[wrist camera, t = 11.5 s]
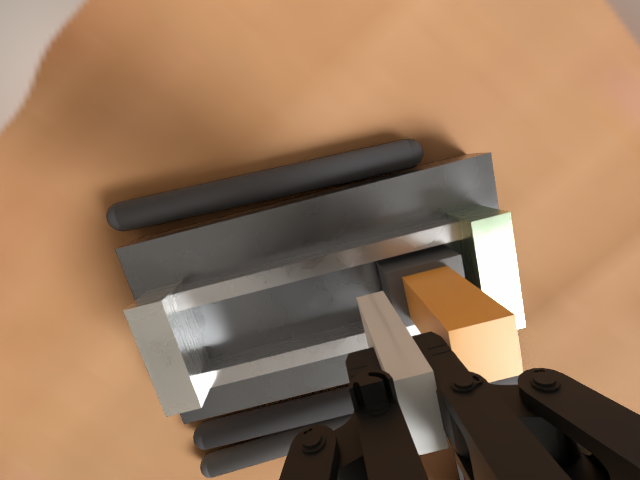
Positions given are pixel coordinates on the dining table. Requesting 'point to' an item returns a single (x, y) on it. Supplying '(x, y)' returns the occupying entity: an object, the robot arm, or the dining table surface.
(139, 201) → the cord
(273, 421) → the grey rod
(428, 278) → the lever
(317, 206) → the gray slotted base
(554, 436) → the robot arm
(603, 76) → the dining table surface
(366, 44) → the dining table surface
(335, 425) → the cord
